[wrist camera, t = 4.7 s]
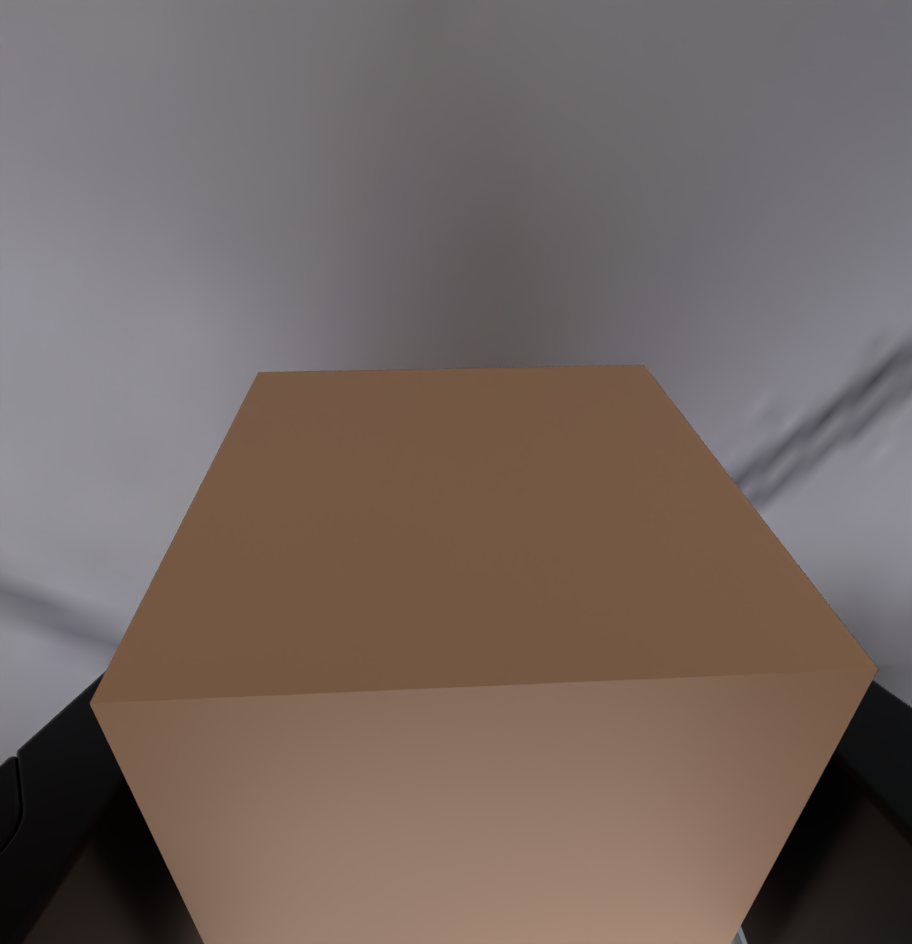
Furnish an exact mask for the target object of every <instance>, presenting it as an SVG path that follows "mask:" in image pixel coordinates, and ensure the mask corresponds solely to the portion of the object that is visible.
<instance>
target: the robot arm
mask: <svg viewBox="0 0 912 944" xmlns="http://www.w3.org/2000/svg"><path fill="white" fill-rule="evenodd" d="M105 672H106V671H105ZM105 672H104V673H103V674H102V675H101V676H100V677H99V678H98V679H97V680H95V681H94V682H93V683H92V684H91V685H90V686H89V687H88V688H87V689H85V690H84V691H83V692H82V693H81V694H80V695H79V696H78V697H76V698H75V699H74V700H73V701H72V702H71V703H70V704H69V705H68V706H66V707H65V708H64V709H63V710H62V711H61V712H60V713H59V714H58V715H56V716H55V717H54V718H53V719H52V720H51V721H50V722H49V723H48V724H46V725H45V726H44V727H43V728H42V729H41V730H40V731H39V732H38V733H36V734H35V735H34V736H33V737H32V738H31V739H30V740H29V741H28V742H26V743H25V744H24V745H23V746H22V747H21V748H20V749H19V750H18V751H17V757H14V756H13V757H10V758H8V759H7V760H6V761H5V762H4V763H3V764H2V765H0V944H204V942H203V940H202V938H201V936H200V934H199V932H198V930H197V928H196V926H195V924H194V922H193V919H192V917H191V915H190V913H189V911H188V909H187V907H186V905H185V903H184V901H183V898H182V896H181V894H180V892H179V890H178V888H177V886H176V884H175V882H174V880H173V877H172V875H171V873H170V871H169V869H168V867H167V865H166V863H165V861H164V859H163V856H162V854H161V852H160V850H159V848H158V846H157V844H156V842H155V840H154V838H153V835H152V833H151V831H150V829H149V827H148V825H147V823H146V821H145V819H144V817H143V814H142V812H141V810H140V808H139V806H138V804H137V802H136V800H135V798H134V796H133V793H132V791H131V789H130V787H129V785H128V783H127V781H126V779H125V777H124V775H123V772H122V770H121V768H120V766H119V764H118V762H117V760H116V758H115V756H114V754H113V751H112V749H111V747H110V745H109V743H108V741H107V739H106V737H105V735H104V733H103V731H102V728H101V726H100V724H99V722H98V720H97V718H96V716H95V714H94V712H93V710H92V707H91V705H90V702H91V700H92V698H93V696H94V694H95V692H96V690H97V688H98V686H99V684H100V682H101V680H102V678H103V676H104V674H105ZM741 928H742V931H743V934H744V936H745V939H746V942H747V944H912V707H910V706H909V705H907V704H906V703H905V702H903V701H902V700H900V699H899V698H897V697H896V696H895V695H893V694H892V693H890V692H889V691H888V690H886V689H885V688H883V687H882V686H880V685H879V684H878V683H876V682H875V681H873V680H872V682H871V683H870V685H869V687H868V689H867V691H866V693H865V695H864V696H863V698H862V700H861V702H860V704H859V706H858V708H857V710H856V711H855V713H854V715H853V717H852V719H851V721H850V723H849V724H848V726H847V728H846V730H845V732H844V734H843V736H842V738H841V739H840V741H839V743H838V745H837V747H836V749H835V751H834V752H833V754H832V756H831V758H830V760H829V762H828V764H827V766H826V767H825V769H824V771H823V773H822V775H821V777H820V779H819V780H818V782H817V784H816V786H815V788H814V790H813V792H812V793H811V795H810V797H809V799H808V801H807V803H806V805H805V807H804V808H803V810H802V812H801V814H800V816H799V818H798V820H797V821H796V823H795V825H794V827H793V829H792V831H791V833H790V835H789V836H788V838H787V840H786V842H785V844H784V846H783V848H782V849H781V851H780V853H779V855H778V857H777V859H776V861H775V863H774V864H773V866H772V868H771V870H770V872H769V874H768V876H767V877H766V879H765V881H764V883H763V885H762V887H761V889H760V890H759V892H758V894H757V896H756V898H755V900H754V902H753V904H752V905H751V907H750V909H749V911H748V913H747V915H746V917H745V918H744V920H743V922H742V924H741Z"/></svg>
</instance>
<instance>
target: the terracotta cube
mask: <svg viewBox="0 0 912 944" xmlns="http://www.w3.org/2000/svg"><path fill="white" fill-rule="evenodd" d="M877 670H878V668H877V667H876V665H875V664H874V663H873V662H872V660H871V659H870V658H869V656H868V655H867V654H866V652H865V651H864V650H863V649H862V647H861V646H860V645H859V643H858V642H857V641H856V639H855V638H854V637H853V636H852V634H851V633H850V632H849V630H848V629H847V628H846V626H845V625H844V624H843V623H842V621H841V620H840V619H839V617H838V616H837V615H836V614H835V612H834V611H833V610H832V608H831V607H830V606H829V604H828V603H827V602H826V601H825V599H824V598H823V597H822V595H821V594H820V593H819V591H818V590H817V589H816V588H815V586H814V585H813V584H812V582H811V581H810V580H809V578H808V577H807V576H806V575H805V573H804V572H803V571H802V569H801V568H800V567H799V566H798V564H797V563H796V562H795V560H794V559H793V558H792V556H791V555H790V554H789V553H788V551H787V550H786V549H785V547H784V546H783V545H782V543H781V542H780V541H779V540H778V538H777V537H776V536H775V534H774V533H773V532H772V530H771V529H770V528H769V527H768V525H767V524H766V523H765V521H764V520H763V519H762V517H761V516H760V515H759V514H758V512H757V511H756V510H755V508H754V507H753V506H752V505H751V503H750V502H749V501H748V499H747V498H746V497H745V495H744V494H743V493H742V492H741V490H740V489H739V488H738V486H737V485H736V484H735V482H734V481H733V480H732V479H731V477H730V476H729V475H728V473H727V472H726V471H725V469H724V468H723V467H722V466H721V464H720V463H719V462H718V460H717V459H716V458H715V457H714V455H713V454H712V453H711V451H710V450H709V449H708V447H707V446H706V445H705V444H704V442H703V441H702V440H701V438H700V437H699V436H698V434H697V433H696V432H695V431H694V429H693V428H692V427H691V425H690V424H689V423H688V421H687V420H686V419H685V418H684V416H683V415H682V414H681V412H680V411H679V410H678V409H677V407H676V406H675V405H674V403H673V402H672V401H671V399H670V398H669V397H668V396H667V394H666V393H665V392H664V390H663V389H662V388H661V386H660V385H659V384H658V383H657V381H656V380H655V379H654V377H653V376H652V375H651V373H650V372H649V371H648V370H647V368H646V367H645V366H644V365H616V366H564V367H512V368H460V369H407V370H355V371H303V372H258V374H257V376H256V378H255V380H254V382H253V384H252V386H251V388H250V390H249V392H248V394H247V396H246V398H245V400H244V402H243V403H242V405H241V407H240V409H239V411H238V413H237V415H236V417H235V419H234V421H233V423H232V425H231V427H230V429H229V431H228V433H227V435H226V437H225V439H224V441H223V443H222V445H221V447H220V449H219V451H218V453H217V454H216V456H215V458H214V460H213V462H212V464H211V466H210V468H209V470H208V472H207V474H206V476H205V478H204V480H203V482H202V484H201V486H200V488H199V490H198V492H197V494H196V496H195V498H194V500H193V502H192V504H191V505H190V507H189V509H188V511H187V513H186V515H185V517H184V519H183V521H182V523H181V525H180V527H179V529H178V531H177V533H176V535H175V537H174V539H173V541H172V543H171V545H170V547H169V549H168V551H167V553H166V555H165V556H164V558H163V560H162V562H161V564H160V566H159V568H158V570H157V572H156V574H155V576H154V578H153V580H152V582H151V584H150V586H149V588H148V590H147V592H146V594H145V596H144V598H143V600H142V602H141V604H140V606H139V607H138V609H137V611H136V613H135V615H134V617H133V619H132V621H131V623H130V625H129V627H128V629H127V631H126V633H125V635H124V637H123V639H122V641H121V643H120V645H119V647H118V649H117V651H116V653H115V655H114V657H113V658H112V660H111V662H110V664H109V666H108V668H107V670H106V672H105V674H104V676H103V678H102V680H101V682H100V684H99V686H98V688H97V690H96V692H95V694H94V696H93V698H92V700H91V702H90V705H91V707H92V710H93V712H94V714H95V716H96V718H97V720H98V722H99V724H100V726H101V728H102V731H103V733H104V735H105V737H106V739H107V741H108V743H109V745H110V747H111V749H112V751H113V754H114V756H115V758H116V760H117V762H118V764H119V766H120V768H121V770H122V772H123V775H124V777H125V779H126V781H127V783H128V785H129V787H130V789H131V791H132V793H133V796H134V798H135V800H136V802H137V804H138V806H139V808H140V810H141V812H142V814H143V817H144V819H145V821H146V823H147V825H148V827H149V829H150V831H151V833H152V835H153V838H154V840H155V842H156V844H157V846H158V848H159V850H160V852H161V854H162V856H163V859H164V861H165V863H166V865H167V867H168V869H169V871H170V873H171V875H172V877H173V880H174V882H175V884H176V886H177V888H178V890H179V892H180V894H181V896H182V898H183V901H184V903H185V905H186V907H187V909H188V911H189V913H190V915H191V917H192V919H193V922H194V924H195V926H196V928H197V930H198V932H199V934H200V936H201V938H202V940H203V942H204V944H731V943H732V941H733V939H734V937H735V935H736V933H737V932H738V930H739V928H740V926H741V924H742V922H743V920H744V918H745V917H746V915H747V913H748V911H749V909H750V907H751V905H752V904H753V902H754V900H755V898H756V896H757V894H758V892H759V890H760V889H761V887H762V885H763V883H764V881H765V879H766V877H767V876H768V874H769V872H770V870H771V868H772V866H773V864H774V863H775V861H776V859H777V857H778V855H779V853H780V851H781V849H782V848H783V846H784V844H785V842H786V840H787V838H788V836H789V835H790V833H791V831H792V829H793V827H794V825H795V823H796V821H797V820H798V818H799V816H800V814H801V812H802V810H803V808H804V807H805V805H806V803H807V801H808V799H809V797H810V795H811V793H812V792H813V790H814V788H815V786H816V784H817V782H818V780H819V779H820V777H821V775H822V773H823V771H824V769H825V767H826V766H827V764H828V762H829V760H830V758H831V756H832V754H833V752H834V751H835V749H836V747H837V745H838V743H839V741H840V739H841V738H842V736H843V734H844V732H845V730H846V728H847V726H848V724H849V723H850V721H851V719H852V717H853V715H854V713H855V711H856V710H857V708H858V706H859V704H860V702H861V700H862V698H863V696H864V695H865V693H866V691H867V689H868V687H869V685H870V683H871V682H872V680H873V678H874V676H875V674H876V672H877Z"/></svg>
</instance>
